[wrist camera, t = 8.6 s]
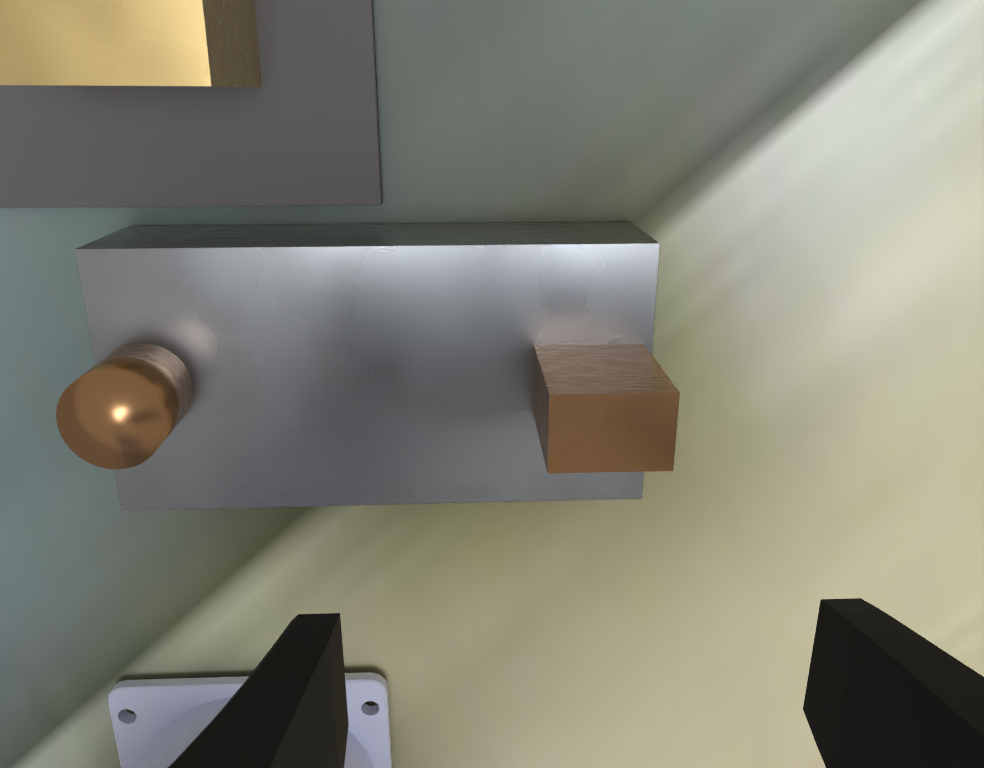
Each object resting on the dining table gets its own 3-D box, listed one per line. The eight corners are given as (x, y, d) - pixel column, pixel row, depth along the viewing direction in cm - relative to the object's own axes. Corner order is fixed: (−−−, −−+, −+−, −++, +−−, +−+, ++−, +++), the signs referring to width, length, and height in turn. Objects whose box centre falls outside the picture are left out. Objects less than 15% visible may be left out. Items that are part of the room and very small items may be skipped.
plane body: (617, 445, 22) (674, 569, 16) (165, 454, 21) (61, 586, 16) (629, 221, 20) (701, 274, 14) (130, 225, 19) (-3, 281, 14)
